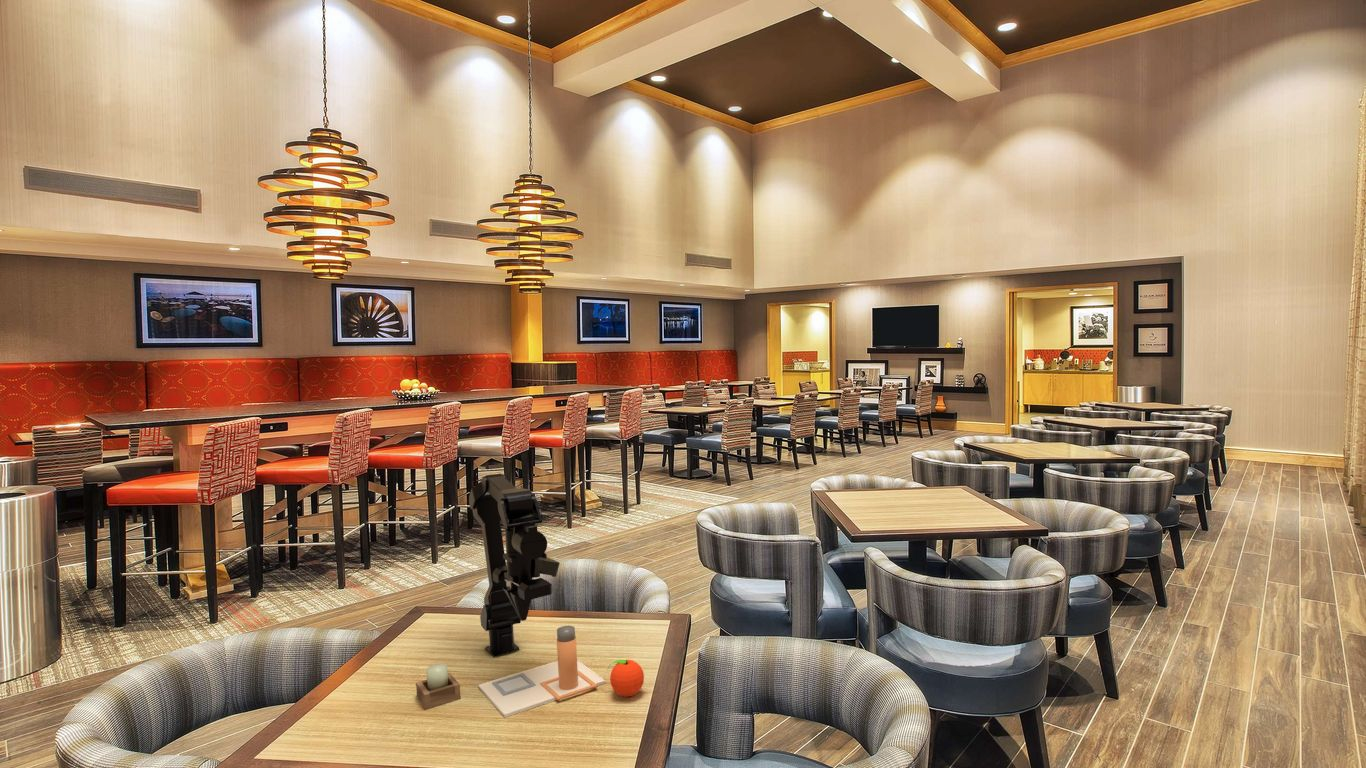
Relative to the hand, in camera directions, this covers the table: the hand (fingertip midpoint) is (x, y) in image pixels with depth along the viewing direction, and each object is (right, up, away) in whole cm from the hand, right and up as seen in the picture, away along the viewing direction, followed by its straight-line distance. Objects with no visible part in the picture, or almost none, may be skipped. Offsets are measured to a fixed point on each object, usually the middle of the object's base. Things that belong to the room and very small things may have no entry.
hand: (523, 620), depth 148 cm
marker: (+11, -12, -5) cm, 17 cm away
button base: (-16, -14, -7) cm, 22 cm away
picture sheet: (+5, -13, -3) cm, 14 cm away
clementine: (+23, -12, -9) cm, 28 cm away
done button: (-16, -12, -7) cm, 21 cm away
